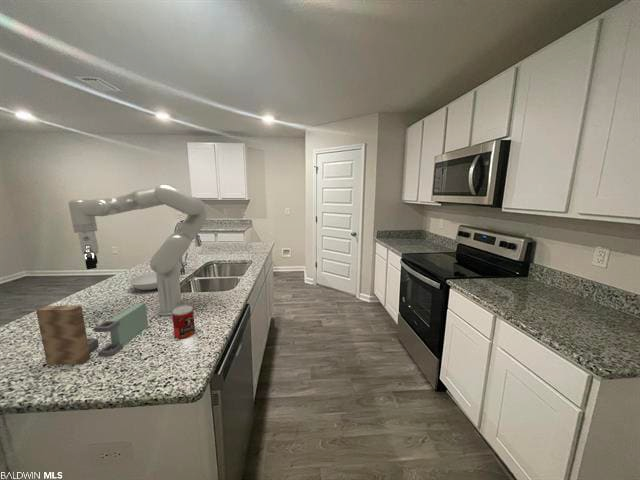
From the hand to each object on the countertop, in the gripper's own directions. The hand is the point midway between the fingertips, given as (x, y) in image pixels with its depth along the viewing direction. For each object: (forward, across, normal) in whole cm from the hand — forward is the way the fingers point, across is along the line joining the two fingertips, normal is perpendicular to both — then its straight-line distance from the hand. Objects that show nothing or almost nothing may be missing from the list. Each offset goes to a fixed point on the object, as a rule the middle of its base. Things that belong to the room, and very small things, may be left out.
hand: (92, 266), depth 111 cm
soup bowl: (+26, +35, -23) cm, 49 cm away
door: (+26, -27, -8) cm, 38 cm away
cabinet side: (+26, -29, +6) cm, 39 cm away
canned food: (+27, -37, -27) cm, 53 cm away
